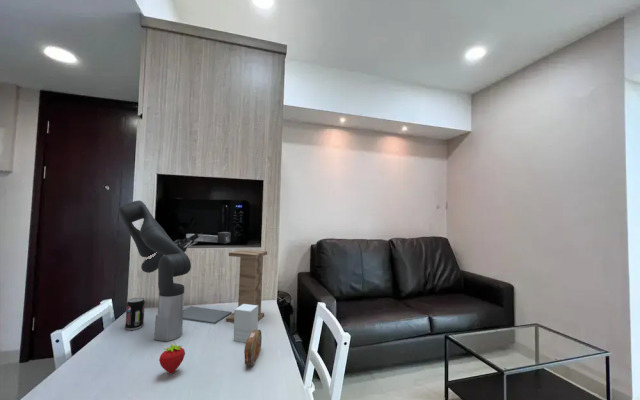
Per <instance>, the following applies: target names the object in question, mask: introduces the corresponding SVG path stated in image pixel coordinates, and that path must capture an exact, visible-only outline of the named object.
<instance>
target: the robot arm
mask: <svg viewBox="0 0 640 400" xmlns="http://www.w3.org/2000/svg"><path fill="white" fill-rule="evenodd" d="M118 214H119V216H120V219H121V220H122V223H123V224H124V226H125V227H126V230H127V232H128V234H129V235H130V237H131V238H132V240H133V241H134V244H135V247H136V249H137V251H138V254H139V256H140V257H142V258H147V257H148V256H150V255H152V254H154V253H156V252H157V253H156V255H155V256H154V257H152V258H151V259H147V260H146V259H145V260H144V261H143V262H142V263H141V271H143V272H144V273H149V274H150V273H153V272H155V271H156V270H157V277H158V278H157V279H158V280H157V287H158V307H157V314H156V315H155V321H154V323H155V324H154V325H155V326H154V339H153V340H155V341H160V342H161V341H162V342H169V341H174V340H177V339H178V338H180V337H182V335H183V327H184V326H183V323H184V321H183V320H184V319H183V310H184V304H185V303H184V302H185V285H183V283H176V282H174V277H175V278H176V277H179V276H180V277H181V276H183V275H186V274H189V272H191V268H192V262H191V259H190V258H189V256H188V254H186V252H187V249H188V248H189V247H191V246H193V245H197V243H198V242H199V241H193V240H195V239H197V238H198V237H199V236H198V234H200V235H204V234H203V232H200V233H193V234H194V235H193V236H190V237H188V238H187V237H186V236H185V237H184V238H182V239H176V240H174V241H173V240H172V239H171V237H170V236H169V235H168V234H167V232H166V231H165V229H164V228H163V227H162V226H161V225H160V224H159V222H158V221H157V220H156V219H155V218H154V216H153V215H152V213H151V211H150V210H149V208H148V207H147V205H146V204H145V203H144V202H143V201H142V200H134V201H131V202H128V203H125V204H122V205H120V206H118ZM142 219H143V221H142V224H141V227H140V230H139V228H137V227H136V226H135V225H134V224H133V223H134V222H136V221H137V222H138V221H139V220H142Z"/></svg>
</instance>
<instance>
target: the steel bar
mask: <svg viewBox="0 0 640 400" xmlns="http://www.w3.org/2000/svg"><path fill="white" fill-rule="evenodd" d="M231 233H232V232H230V231H222V232H221V231H220V232H217V235H215V234H214V235H211V234H203V235H200V233H197V234H198V236H199V237H198V238H197V239H195V240H193V241H198V242H205V243H206V242H207V243H218V244H227V243H231V235H232V234H231ZM194 234H195V233H186V234H185V235H186V236H185V238H186V237H187V238H188V237H190V236H193V235H194Z"/></svg>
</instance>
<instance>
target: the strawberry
mask: <svg viewBox="0 0 640 400" xmlns="http://www.w3.org/2000/svg"><path fill="white" fill-rule="evenodd" d="M172 342H173V343H174V344H173V343H172V344H170V347H167V348H163V350H164V351H163V352H162V353H161V354H160V356H159V360H158V361H159V364H160V367H162V369H163V370H164V371H166V372H167V373H168V374H170V375H172V374H174V373H175V372H176V371H177V369H179V367H180V365H181V364H182V362H183V361H184V358H185V355H186V351H185V349H184V348H183V345H181V344H180V345H178V344H176V343H175V341H174V340H172Z"/></svg>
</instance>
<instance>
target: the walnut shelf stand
mask: <svg viewBox="0 0 640 400" xmlns="http://www.w3.org/2000/svg"><path fill="white" fill-rule="evenodd" d="M267 255H268V251H265V250H250V249H249V250H248V249H239V250H236V251H235V250H234V251H231V252H229V253H228V256H229V257H234V258H235V257H237V258H240V259H239V261H240V262H239V280H238V281H239V282H238V283H239V284H238V301H237V308H238V307H239V306H241V305H242V304H249V305H258V322H259V321H260V320H262V319H263V318H264V317H265V312H262V296H263V295H262V294H263V291H262V290H263V272H264V271H263V268H264V256H267ZM234 313H235V312H233V313H231V314H230V315H228V316H227V317H225V322H226V323H233V324H234Z"/></svg>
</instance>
